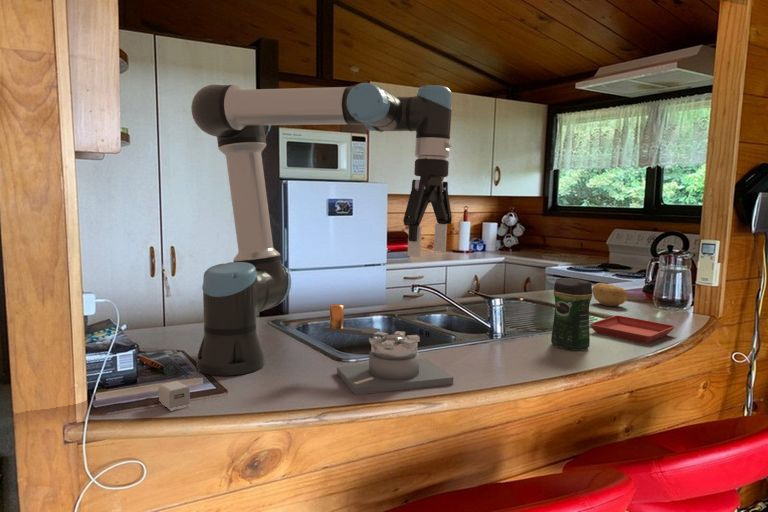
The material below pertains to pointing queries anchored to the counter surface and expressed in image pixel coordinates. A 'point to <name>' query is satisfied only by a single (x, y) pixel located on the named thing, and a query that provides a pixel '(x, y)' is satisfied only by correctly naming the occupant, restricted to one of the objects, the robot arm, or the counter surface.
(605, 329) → the plant saucer
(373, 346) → the bar with orange knob
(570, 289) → the coffee jar
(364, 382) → the base plate
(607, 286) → the potato
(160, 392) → the usb wall charger
